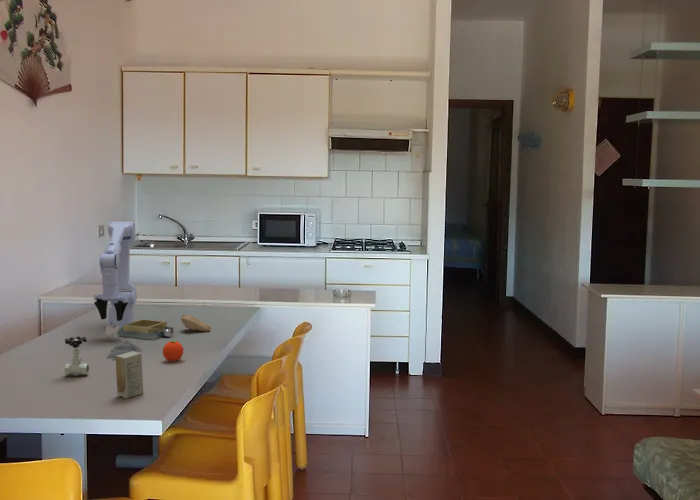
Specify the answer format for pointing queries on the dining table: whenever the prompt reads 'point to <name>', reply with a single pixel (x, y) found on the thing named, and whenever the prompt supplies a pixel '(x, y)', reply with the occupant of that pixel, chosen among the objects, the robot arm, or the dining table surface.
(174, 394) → the dining table surface
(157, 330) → the metal tray
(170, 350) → the clementine
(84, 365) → the valve
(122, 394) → the skincare box
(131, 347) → the cloth
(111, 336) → the tin can
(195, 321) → the pottery oil lamp
